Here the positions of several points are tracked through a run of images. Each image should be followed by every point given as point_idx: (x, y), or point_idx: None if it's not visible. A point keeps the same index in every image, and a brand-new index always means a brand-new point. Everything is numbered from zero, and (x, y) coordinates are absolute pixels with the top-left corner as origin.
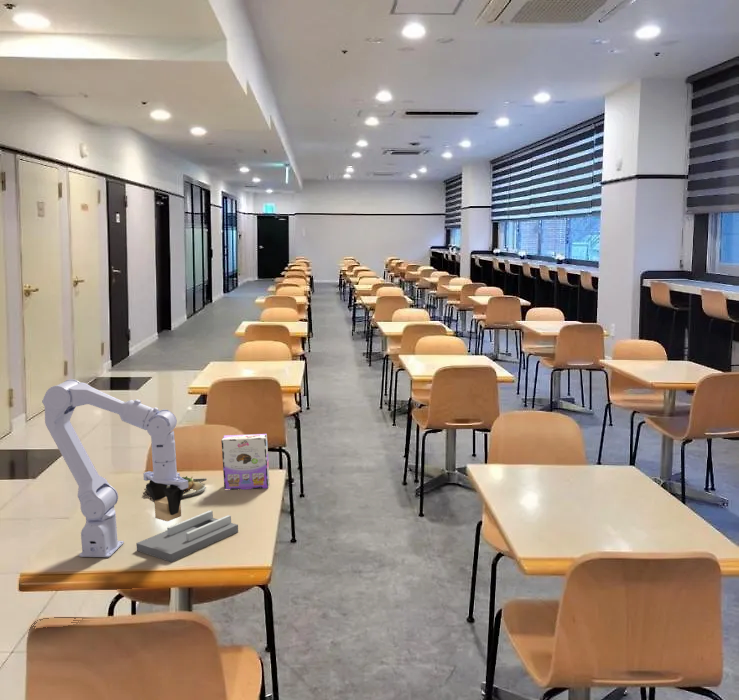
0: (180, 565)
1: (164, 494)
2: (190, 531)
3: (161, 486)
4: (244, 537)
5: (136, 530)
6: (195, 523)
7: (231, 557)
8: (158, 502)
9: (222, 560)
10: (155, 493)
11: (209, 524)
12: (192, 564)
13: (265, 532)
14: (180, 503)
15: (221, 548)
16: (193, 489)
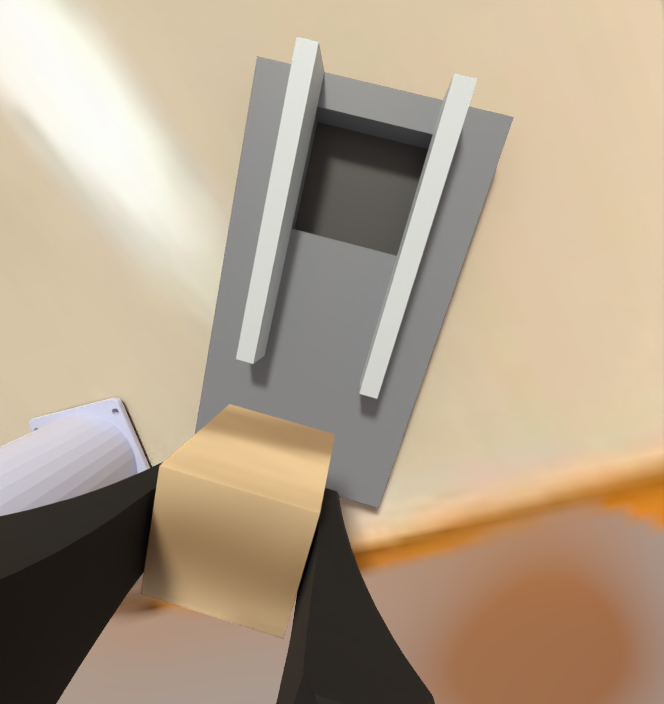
0: (422, 502)
1: (130, 512)
2: (371, 371)
3: (36, 635)
4: (556, 192)
5: (69, 277)
6: (294, 204)
7: (582, 403)
8: (191, 605)
9: (557, 435)
10: (88, 641)
11: (417, 259)
12: (459, 487)
13: (647, 88)
14: (324, 486)
15: (501, 337)
16: None
